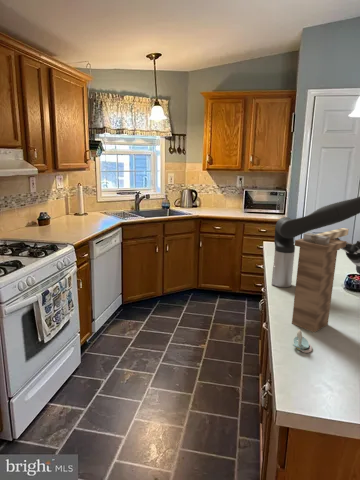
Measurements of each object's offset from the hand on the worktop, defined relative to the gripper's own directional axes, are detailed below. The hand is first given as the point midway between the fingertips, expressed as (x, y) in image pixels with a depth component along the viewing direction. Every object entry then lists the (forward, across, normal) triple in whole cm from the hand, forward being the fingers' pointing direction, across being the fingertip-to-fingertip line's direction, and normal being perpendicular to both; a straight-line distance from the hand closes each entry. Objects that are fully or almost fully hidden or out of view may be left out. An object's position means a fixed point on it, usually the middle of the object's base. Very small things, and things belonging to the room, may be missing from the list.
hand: (346, 241), depth 138 cm
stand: (+4, 0, +36) cm, 36 cm away
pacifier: (+20, +7, +46) cm, 50 cm away
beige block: (+14, 0, +5) cm, 14 cm away
